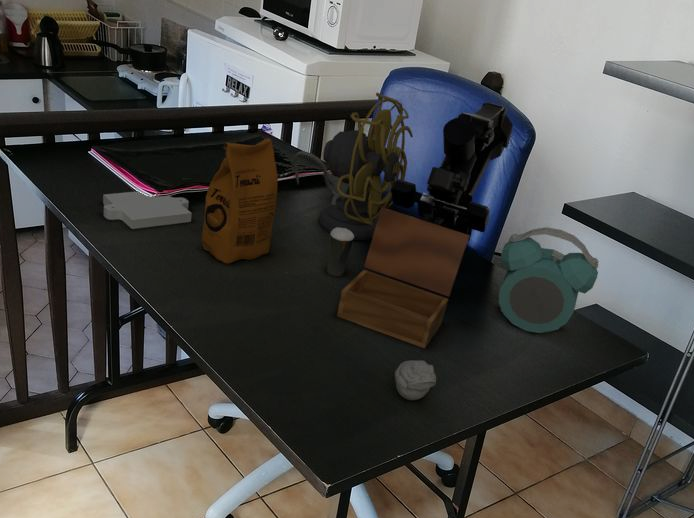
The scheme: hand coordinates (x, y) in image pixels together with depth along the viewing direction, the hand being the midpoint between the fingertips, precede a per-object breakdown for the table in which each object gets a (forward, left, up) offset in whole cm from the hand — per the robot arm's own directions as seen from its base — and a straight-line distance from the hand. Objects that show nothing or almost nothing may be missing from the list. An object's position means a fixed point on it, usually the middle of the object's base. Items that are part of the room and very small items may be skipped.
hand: (423, 244), depth 140 cm
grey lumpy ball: (+34, +8, -11) cm, 36 cm away
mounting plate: (-1, -57, -11) cm, 58 cm away
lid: (+5, -1, 0) cm, 5 cm away
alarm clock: (-3, +23, -11) cm, 26 cm away
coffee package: (+4, -35, -11) cm, 37 cm away
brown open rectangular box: (+12, -1, -11) cm, 16 cm away
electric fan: (-26, -27, -11) cm, 39 cm away
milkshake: (0, -15, -11) cm, 19 cm away
